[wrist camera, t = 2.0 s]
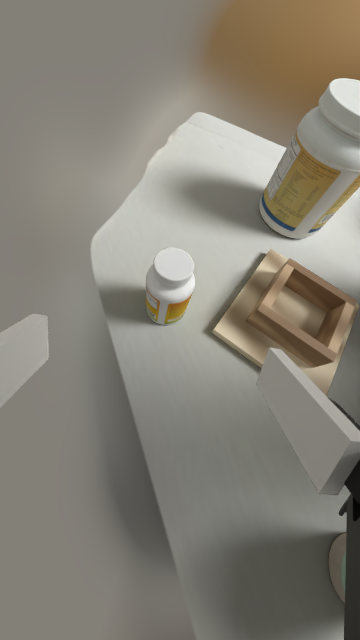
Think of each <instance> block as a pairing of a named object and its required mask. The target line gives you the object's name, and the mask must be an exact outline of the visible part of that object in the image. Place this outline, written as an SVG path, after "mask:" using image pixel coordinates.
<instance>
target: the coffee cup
mask: <svg viewBox="0 0 360 640" xmlns="http://www.w3.org/2000/svg"><path fill="white" fill-rule="evenodd" d="M329 572H330V577H331V580H332V583H333V586H334V588H335V590H336V592H337V594H338V596H339V597H340V599H341V600H342V601H343V602H344V604H345V576H346V533H344V534H341V535H339V536H338V537H337V538H336V539H335V540H334V542H333V544H332V546H331V549H330V553H329Z"/></svg>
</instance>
